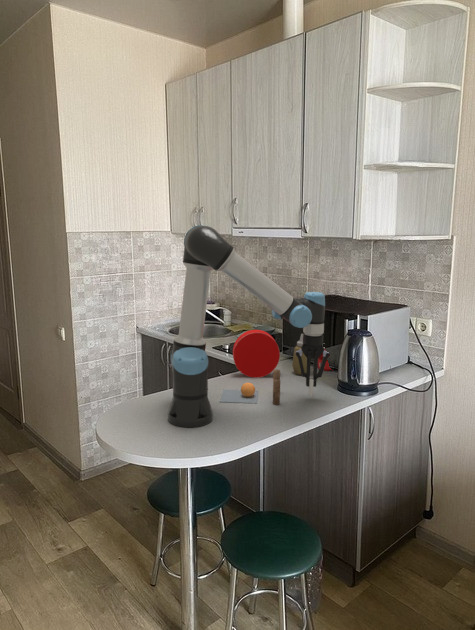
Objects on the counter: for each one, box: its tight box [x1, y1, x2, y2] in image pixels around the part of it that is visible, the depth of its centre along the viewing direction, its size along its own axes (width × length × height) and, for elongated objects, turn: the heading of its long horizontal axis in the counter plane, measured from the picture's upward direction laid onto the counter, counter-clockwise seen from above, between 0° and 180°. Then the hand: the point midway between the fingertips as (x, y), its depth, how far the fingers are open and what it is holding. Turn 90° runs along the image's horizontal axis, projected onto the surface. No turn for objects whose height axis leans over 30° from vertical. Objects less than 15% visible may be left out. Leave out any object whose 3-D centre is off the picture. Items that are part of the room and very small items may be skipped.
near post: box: [272, 379, 281, 406], centre depth 184 cm, size 3×3×9 cm
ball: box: [240, 382, 256, 397], centre depth 191 cm, size 6×6×6 cm
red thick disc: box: [232, 329, 281, 379], centre depth 216 cm, size 20×6×20 cm, turn 93°
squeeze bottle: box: [291, 333, 311, 376], centre depth 221 cm, size 8×8×18 cm
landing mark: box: [219, 388, 260, 405], centre depth 192 cm, size 14×14×1 cm
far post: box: [272, 368, 281, 381], centre depth 196 cm, size 3×3×9 cm
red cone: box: [317, 347, 333, 372], centre depth 229 cm, size 8×8×11 cm
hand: (310, 394), depth 189 cm, fingers closed
